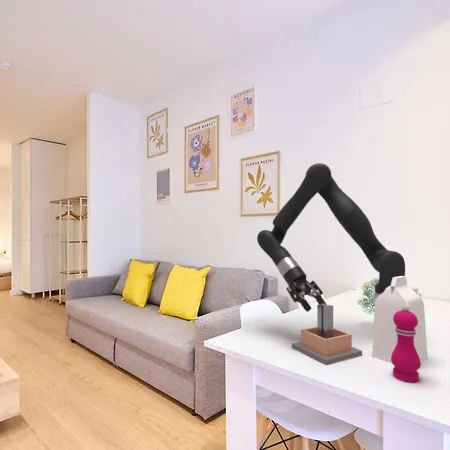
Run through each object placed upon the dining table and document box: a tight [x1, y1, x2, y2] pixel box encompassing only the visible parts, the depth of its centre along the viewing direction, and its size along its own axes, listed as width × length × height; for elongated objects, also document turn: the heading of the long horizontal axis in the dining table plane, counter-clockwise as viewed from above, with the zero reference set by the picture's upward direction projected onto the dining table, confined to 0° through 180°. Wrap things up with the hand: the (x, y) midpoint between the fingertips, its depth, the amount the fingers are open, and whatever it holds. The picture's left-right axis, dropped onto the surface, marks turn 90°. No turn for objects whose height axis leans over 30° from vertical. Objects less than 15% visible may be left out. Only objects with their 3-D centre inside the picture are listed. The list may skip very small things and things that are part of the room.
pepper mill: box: [391, 305, 422, 383], centre depth 89 cm, size 7×7×20 cm
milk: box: [372, 275, 429, 364], centre depth 102 cm, size 12×12×26 cm
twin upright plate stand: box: [316, 303, 334, 339], centre depth 107 cm, size 4×6×14 cm
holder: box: [291, 326, 363, 366], centre depth 107 cm, size 16×16×6 cm
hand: (317, 308), depth 110 cm, fingers open, 8 cm apart
